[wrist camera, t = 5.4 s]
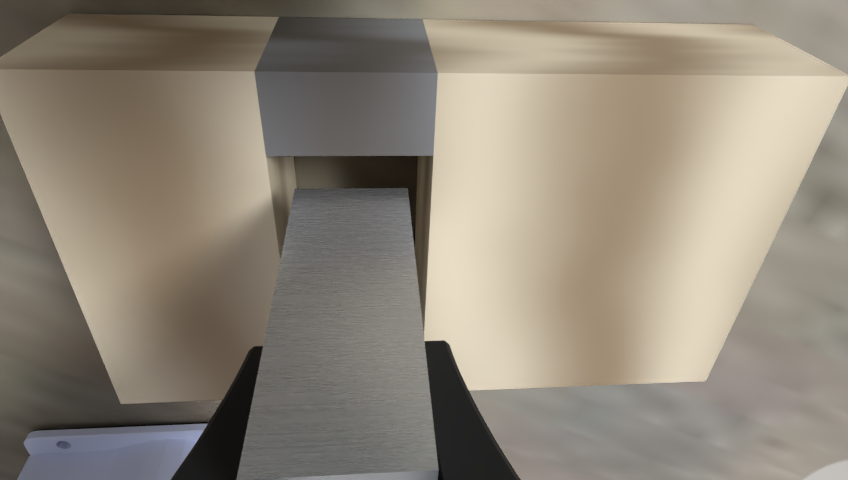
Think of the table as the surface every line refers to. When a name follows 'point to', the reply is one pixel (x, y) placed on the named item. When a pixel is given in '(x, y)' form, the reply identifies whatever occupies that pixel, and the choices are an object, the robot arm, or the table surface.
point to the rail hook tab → (343, 348)
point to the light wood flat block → (418, 181)
